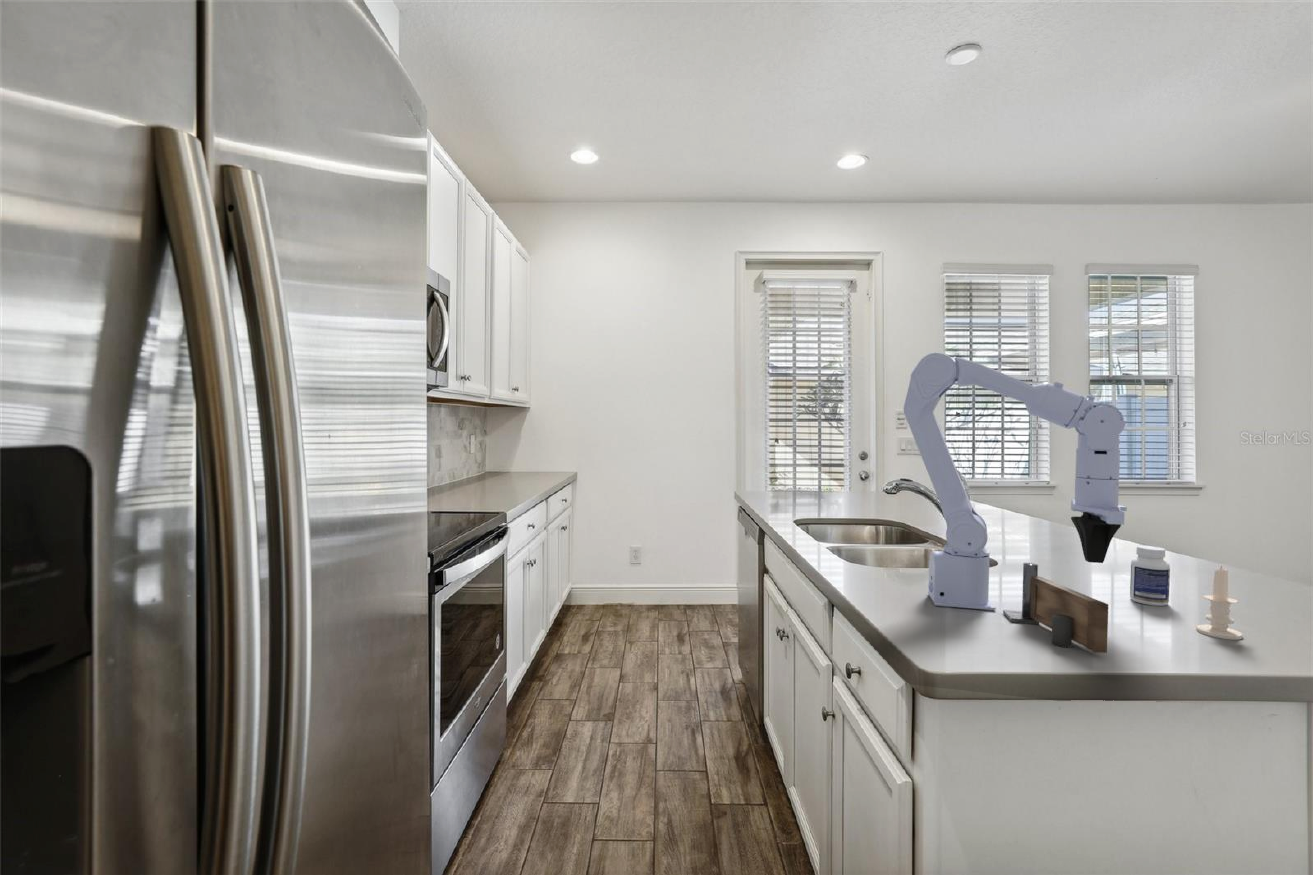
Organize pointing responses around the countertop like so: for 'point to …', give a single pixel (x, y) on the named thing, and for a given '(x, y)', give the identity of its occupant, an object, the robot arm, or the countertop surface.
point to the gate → (1071, 612)
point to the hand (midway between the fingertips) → (1094, 561)
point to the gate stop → (1062, 630)
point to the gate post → (1024, 597)
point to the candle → (1220, 610)
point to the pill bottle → (1150, 577)
